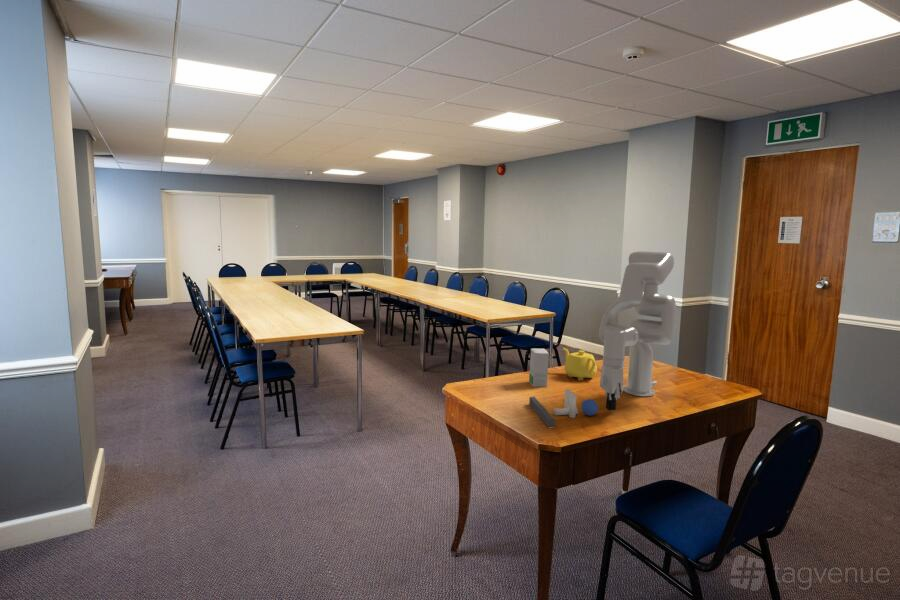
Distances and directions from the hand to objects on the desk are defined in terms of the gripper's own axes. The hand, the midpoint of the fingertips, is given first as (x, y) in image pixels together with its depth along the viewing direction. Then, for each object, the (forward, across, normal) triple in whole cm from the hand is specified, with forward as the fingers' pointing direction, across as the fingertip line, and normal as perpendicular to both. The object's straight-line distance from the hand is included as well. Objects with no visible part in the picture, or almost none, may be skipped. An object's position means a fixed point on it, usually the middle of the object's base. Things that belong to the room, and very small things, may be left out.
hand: (610, 409), depth 185 cm
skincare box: (+2, -37, -17) cm, 41 cm away
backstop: (+2, 0, -27) cm, 27 cm away
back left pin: (+2, +2, -16) cm, 16 cm away
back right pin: (+2, -2, -16) cm, 16 cm away
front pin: (0, 0, -13) cm, 13 cm away
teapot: (+2, -48, +6) cm, 48 cm away
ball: (-2, +1, -9) cm, 9 cm away
